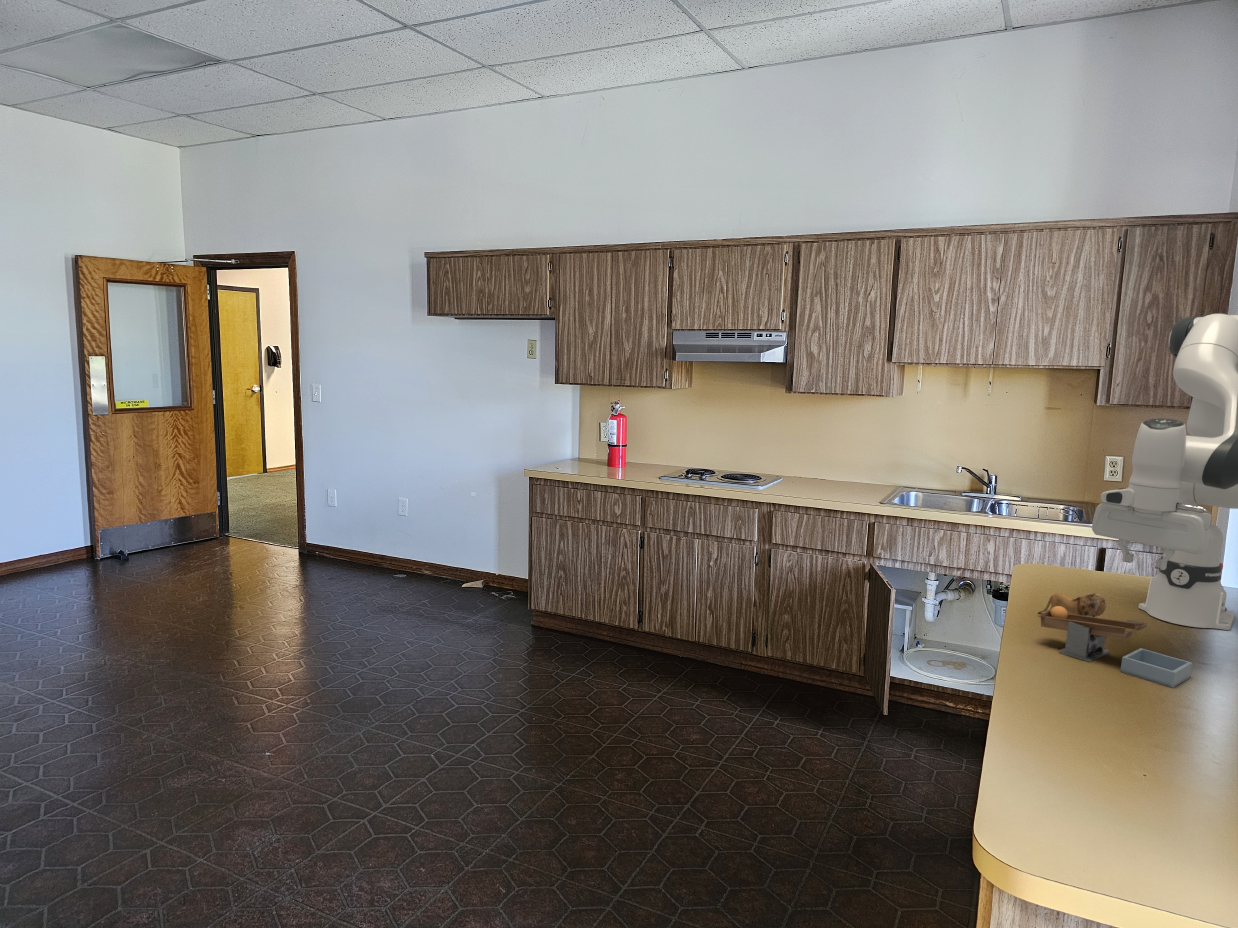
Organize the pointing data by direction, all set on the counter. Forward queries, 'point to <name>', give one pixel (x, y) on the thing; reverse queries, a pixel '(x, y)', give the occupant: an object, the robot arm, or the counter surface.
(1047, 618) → the lever
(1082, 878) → the counter surface
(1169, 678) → the tray
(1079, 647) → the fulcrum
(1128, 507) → the robot arm
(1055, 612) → the ball
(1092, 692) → the counter surface
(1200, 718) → the counter surface
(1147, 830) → the counter surface
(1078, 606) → the lion figurine
